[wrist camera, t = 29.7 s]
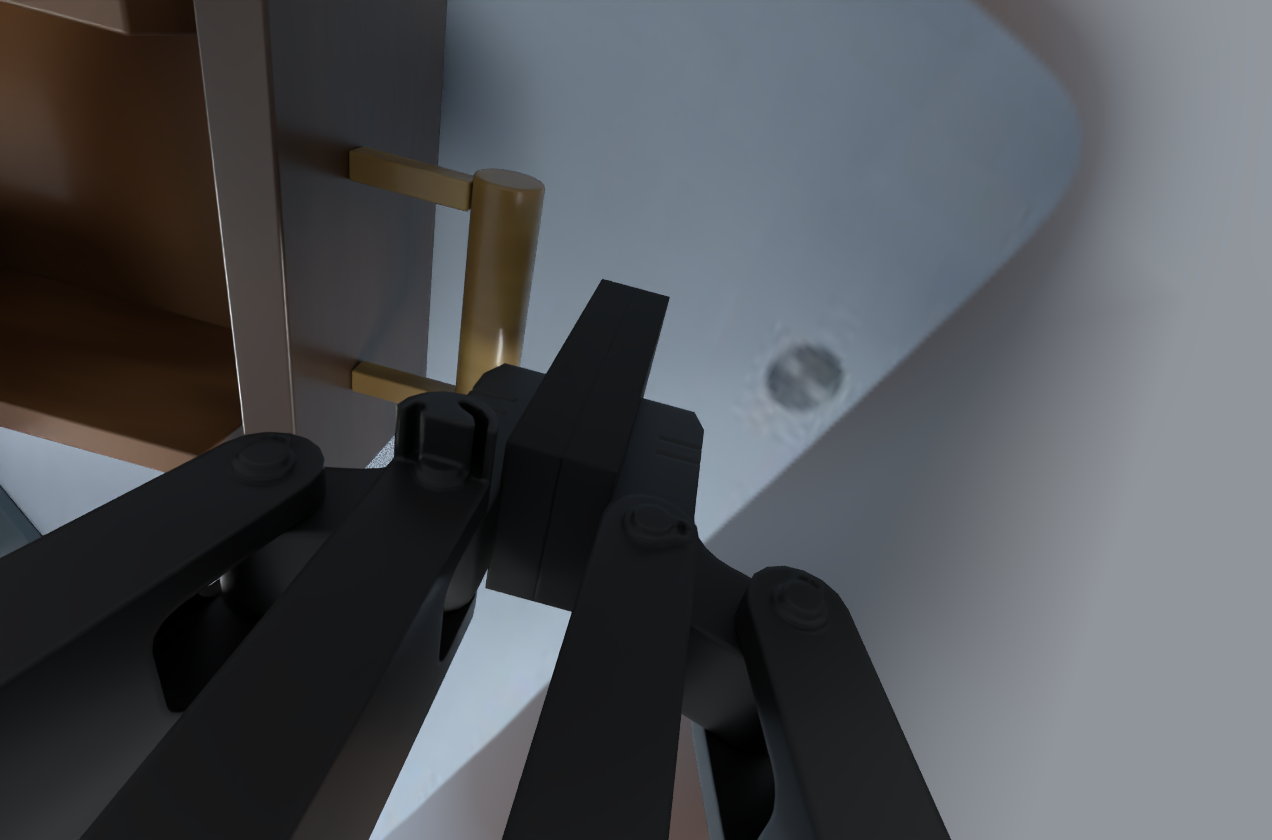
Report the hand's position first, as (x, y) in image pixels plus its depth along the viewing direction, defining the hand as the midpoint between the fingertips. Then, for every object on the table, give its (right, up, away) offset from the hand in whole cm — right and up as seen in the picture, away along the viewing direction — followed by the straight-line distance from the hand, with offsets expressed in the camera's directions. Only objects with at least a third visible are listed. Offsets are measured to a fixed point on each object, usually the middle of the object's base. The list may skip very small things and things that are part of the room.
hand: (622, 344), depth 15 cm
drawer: (-10, +5, +4) cm, 12 cm away
